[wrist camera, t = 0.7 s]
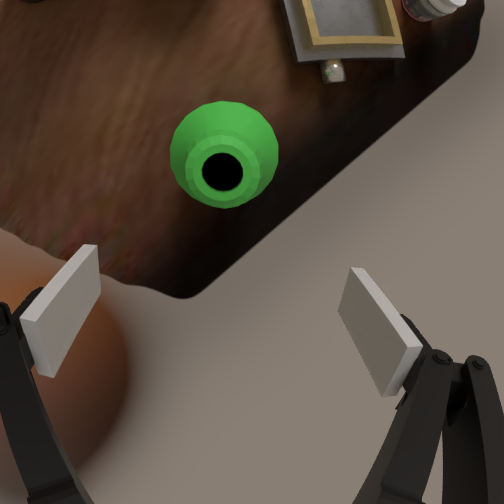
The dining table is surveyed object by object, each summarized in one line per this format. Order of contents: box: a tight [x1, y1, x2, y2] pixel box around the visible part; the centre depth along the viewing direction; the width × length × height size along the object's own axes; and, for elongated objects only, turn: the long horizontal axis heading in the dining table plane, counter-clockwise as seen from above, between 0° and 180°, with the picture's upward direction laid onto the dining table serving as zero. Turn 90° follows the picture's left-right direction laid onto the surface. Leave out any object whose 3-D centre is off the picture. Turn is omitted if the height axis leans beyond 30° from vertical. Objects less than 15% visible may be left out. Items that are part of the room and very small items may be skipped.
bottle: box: [170, 101, 278, 209], centre depth 27 cm, size 9×9×25 cm
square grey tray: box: [278, 0, 405, 84], centre depth 30 cm, size 18×15×6 cm
